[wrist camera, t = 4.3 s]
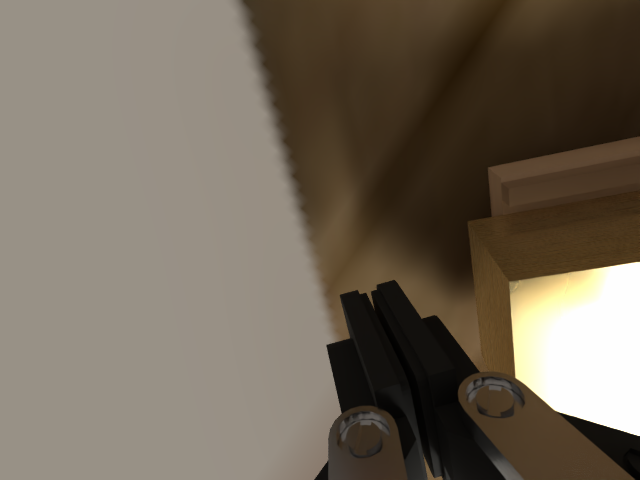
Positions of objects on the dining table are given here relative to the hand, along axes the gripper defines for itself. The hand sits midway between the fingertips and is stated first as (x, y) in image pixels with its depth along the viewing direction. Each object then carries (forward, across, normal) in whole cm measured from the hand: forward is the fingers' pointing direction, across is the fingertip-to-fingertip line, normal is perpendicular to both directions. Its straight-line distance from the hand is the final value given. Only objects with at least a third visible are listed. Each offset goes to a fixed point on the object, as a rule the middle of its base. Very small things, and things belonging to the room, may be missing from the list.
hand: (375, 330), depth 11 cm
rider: (0, -6, 0) cm, 6 cm away
